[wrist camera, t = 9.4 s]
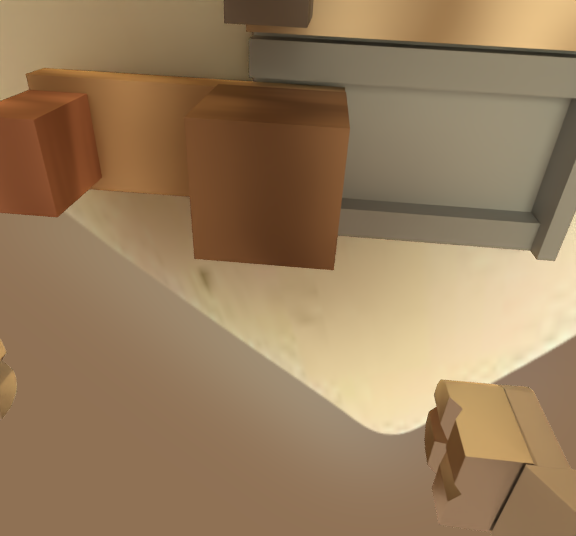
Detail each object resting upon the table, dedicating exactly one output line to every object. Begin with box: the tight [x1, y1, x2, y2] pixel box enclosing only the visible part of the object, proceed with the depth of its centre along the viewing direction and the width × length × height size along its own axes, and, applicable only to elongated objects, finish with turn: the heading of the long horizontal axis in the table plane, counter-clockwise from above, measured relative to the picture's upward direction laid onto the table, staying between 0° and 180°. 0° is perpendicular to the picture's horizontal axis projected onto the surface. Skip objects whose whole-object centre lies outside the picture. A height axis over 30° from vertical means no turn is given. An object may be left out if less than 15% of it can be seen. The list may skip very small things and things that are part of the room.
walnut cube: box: [184, 84, 350, 270], centre depth 17 cm, size 5×5×5 cm
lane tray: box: [249, 32, 576, 261], centre depth 18 cm, size 14×15×3 cm
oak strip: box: [0, 68, 345, 217], centre depth 19 cm, size 13×5×5 cm, turn 87°
